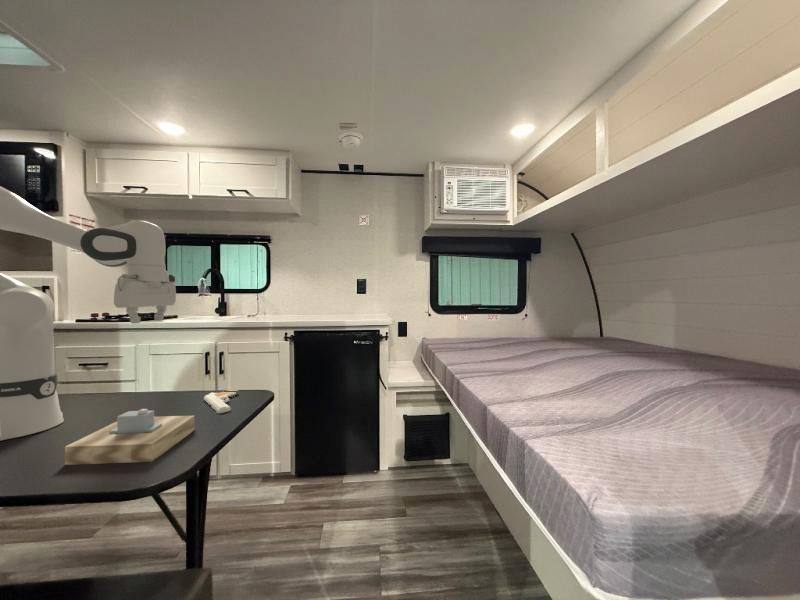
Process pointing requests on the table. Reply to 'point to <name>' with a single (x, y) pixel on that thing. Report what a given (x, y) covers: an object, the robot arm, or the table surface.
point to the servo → (136, 422)
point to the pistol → (219, 400)
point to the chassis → (129, 443)
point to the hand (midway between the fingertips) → (147, 321)
